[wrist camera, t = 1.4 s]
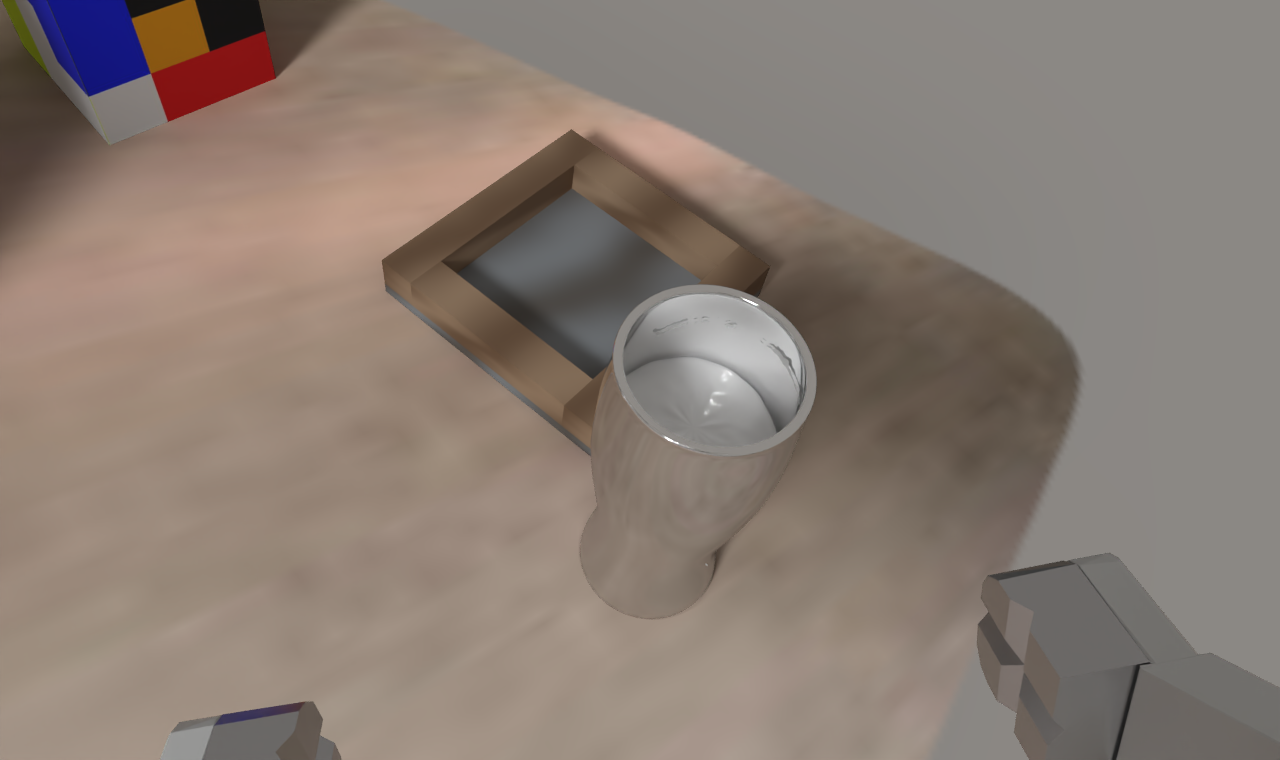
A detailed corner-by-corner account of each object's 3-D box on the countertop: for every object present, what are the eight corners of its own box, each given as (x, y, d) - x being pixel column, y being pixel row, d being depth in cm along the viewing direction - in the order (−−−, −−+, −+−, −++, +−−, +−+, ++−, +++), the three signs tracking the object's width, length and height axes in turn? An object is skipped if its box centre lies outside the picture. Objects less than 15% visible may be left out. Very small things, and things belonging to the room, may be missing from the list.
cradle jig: (386, 291, 47) (381, 260, 45) (568, 161, 54) (571, 129, 52) (592, 457, 44) (597, 431, 42) (759, 294, 51) (770, 266, 49)
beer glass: (571, 632, 39) (612, 461, 27) (566, 484, 43) (600, 274, 30) (732, 628, 40) (843, 461, 28) (713, 484, 44) (803, 281, 32)
